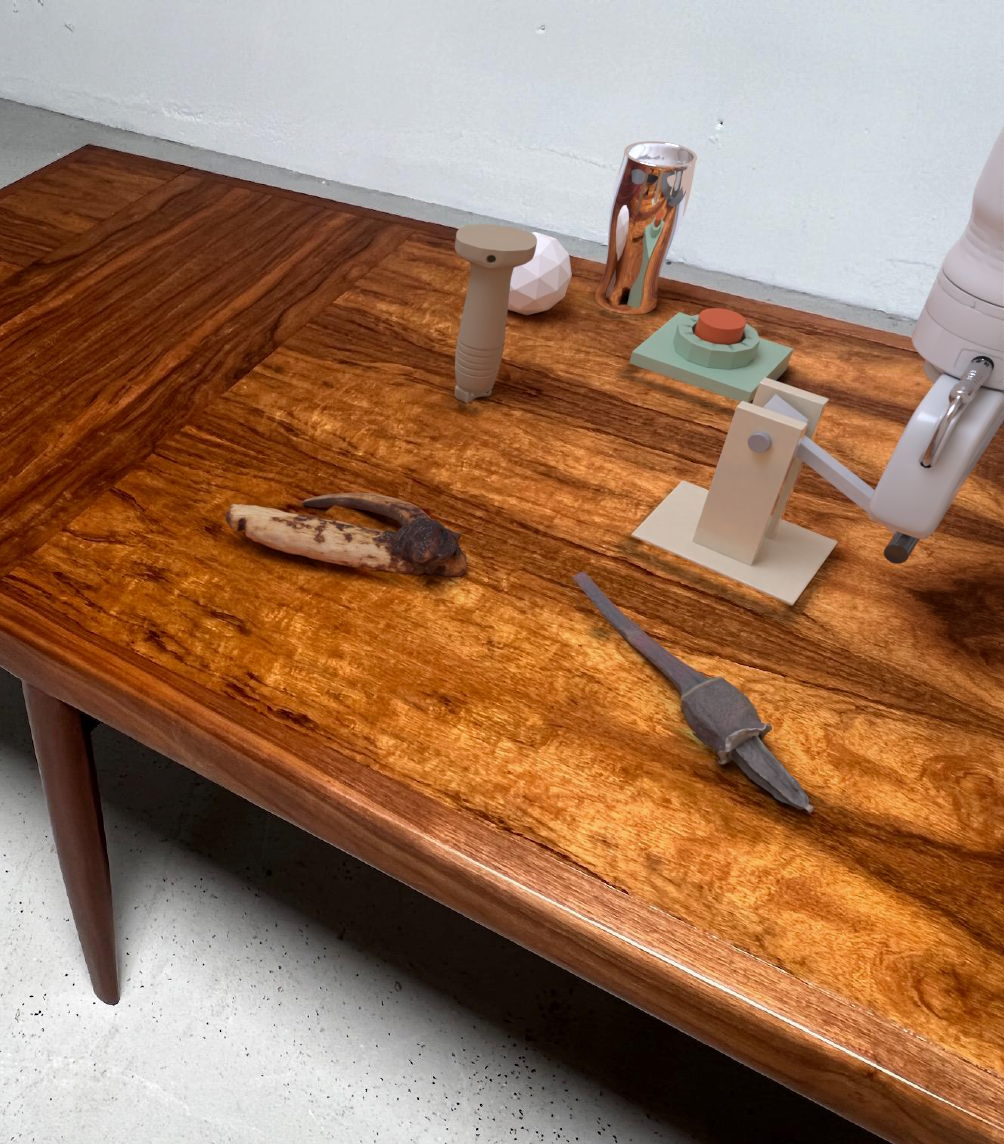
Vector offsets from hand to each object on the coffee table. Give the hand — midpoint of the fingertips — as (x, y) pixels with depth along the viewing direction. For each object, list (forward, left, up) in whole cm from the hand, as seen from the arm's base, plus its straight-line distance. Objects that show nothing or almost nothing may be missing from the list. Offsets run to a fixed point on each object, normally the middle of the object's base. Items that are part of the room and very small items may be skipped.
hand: (912, 519), depth 73 cm
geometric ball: (+41, -24, -8) cm, 48 cm away
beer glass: (+34, -32, -8) cm, 47 cm away
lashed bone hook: (+32, +18, -8) cm, 38 cm away
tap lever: (+6, 0, 0) cm, 6 cm away
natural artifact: (+7, +16, -8) cm, 19 cm away
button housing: (+22, -24, -8) cm, 34 cm away
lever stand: (+10, 0, -8) cm, 13 cm away
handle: (+36, -6, -8) cm, 37 cm away
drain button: (+22, -24, -4) cm, 33 cm away
